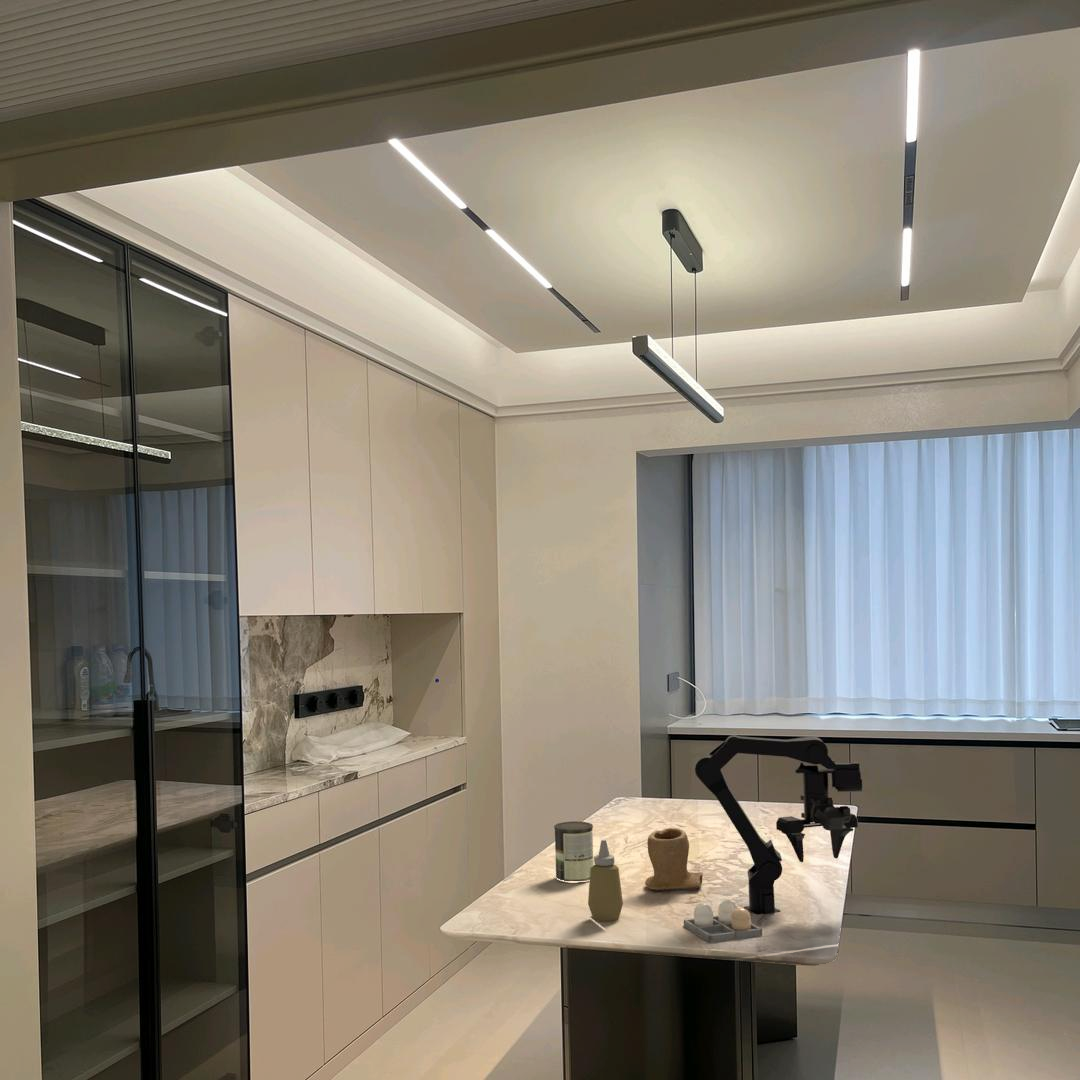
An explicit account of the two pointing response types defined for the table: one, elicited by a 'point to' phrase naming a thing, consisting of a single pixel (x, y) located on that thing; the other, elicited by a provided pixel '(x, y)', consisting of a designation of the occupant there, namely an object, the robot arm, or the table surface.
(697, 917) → the white egg back
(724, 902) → the white egg left
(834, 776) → the robot arm
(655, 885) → the stone cup
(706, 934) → the egg carton
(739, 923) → the brown egg
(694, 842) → the table surface
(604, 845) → the squeeze bottle
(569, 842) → the coffee can
